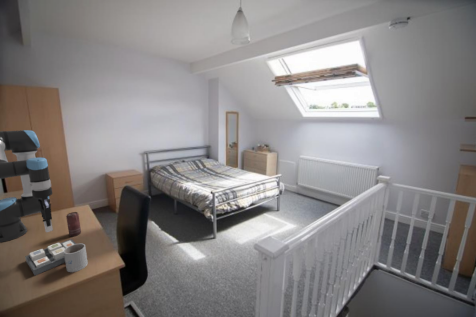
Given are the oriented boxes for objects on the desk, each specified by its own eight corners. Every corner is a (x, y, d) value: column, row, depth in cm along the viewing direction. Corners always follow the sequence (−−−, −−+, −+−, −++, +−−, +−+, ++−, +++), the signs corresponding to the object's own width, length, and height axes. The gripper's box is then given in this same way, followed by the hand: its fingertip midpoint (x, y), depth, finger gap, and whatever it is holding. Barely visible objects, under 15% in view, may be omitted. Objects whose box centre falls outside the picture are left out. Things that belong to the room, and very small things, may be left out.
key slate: (30, 258, 112) (29, 252, 112) (43, 253, 116) (42, 248, 116) (32, 261, 109) (31, 256, 109) (45, 256, 113) (44, 251, 113)
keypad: (26, 261, 113) (24, 255, 112) (72, 243, 129) (71, 238, 128) (34, 275, 103) (33, 269, 102) (83, 254, 119) (82, 249, 118)
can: (75, 237, 135) (72, 216, 132) (66, 236, 137) (63, 215, 134) (83, 232, 141) (81, 212, 138) (75, 231, 142) (72, 211, 140)
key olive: (48, 251, 118) (47, 246, 117) (59, 246, 122) (58, 241, 121) (51, 254, 115) (50, 249, 115) (62, 250, 119) (61, 245, 118)
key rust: (34, 266, 108) (33, 261, 108) (47, 261, 112) (46, 255, 112) (37, 270, 106) (36, 265, 105) (50, 265, 110) (49, 259, 109)
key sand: (52, 256, 114) (51, 251, 113) (64, 251, 118) (63, 246, 117) (55, 260, 111) (54, 254, 110) (67, 255, 115) (66, 250, 114)
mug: (89, 265, 110) (87, 248, 108) (69, 274, 104) (65, 256, 102) (83, 255, 118) (80, 238, 116) (63, 263, 112) (60, 245, 110)
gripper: (28, 187, 111) (36, 229, 115) (34, 193, 103) (43, 238, 108) (47, 183, 116) (54, 224, 121) (54, 189, 109) (61, 232, 114)
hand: (49, 230), depth 115 cm, fingers closed
